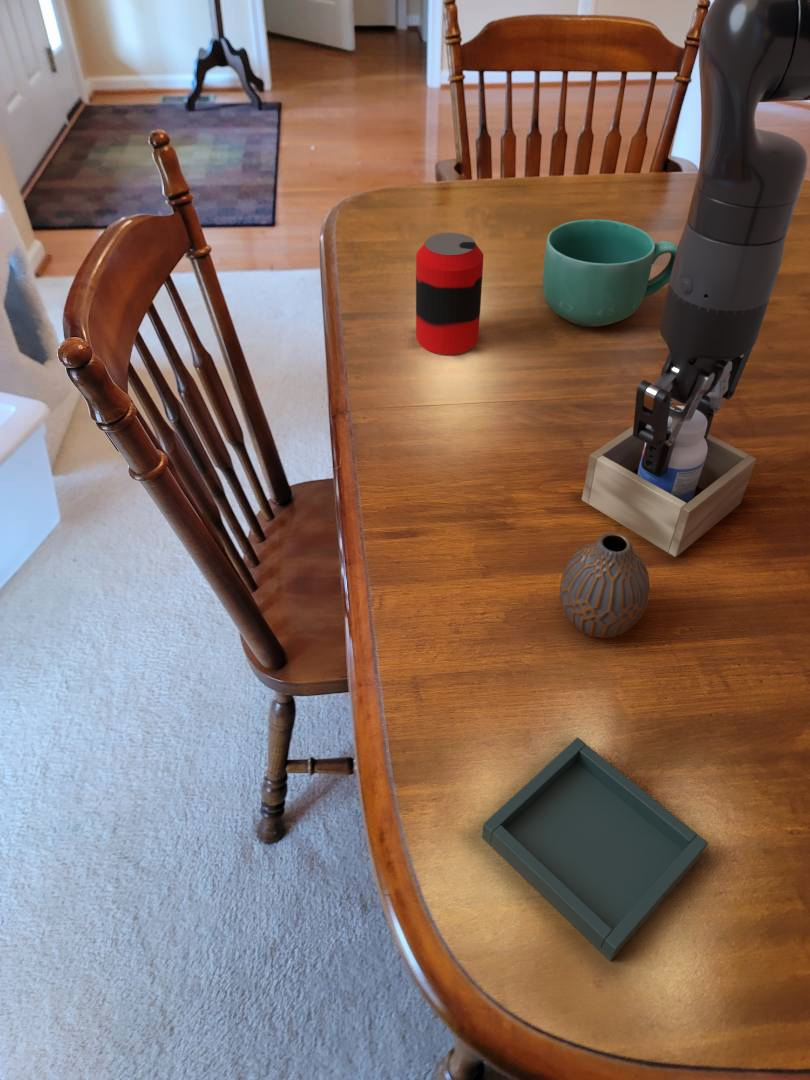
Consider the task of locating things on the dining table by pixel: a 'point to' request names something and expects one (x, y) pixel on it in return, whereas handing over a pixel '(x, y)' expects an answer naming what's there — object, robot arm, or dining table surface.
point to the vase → (605, 587)
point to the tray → (594, 845)
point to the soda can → (448, 293)
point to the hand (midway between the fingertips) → (673, 456)
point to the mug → (601, 270)
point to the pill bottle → (683, 459)
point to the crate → (657, 509)
